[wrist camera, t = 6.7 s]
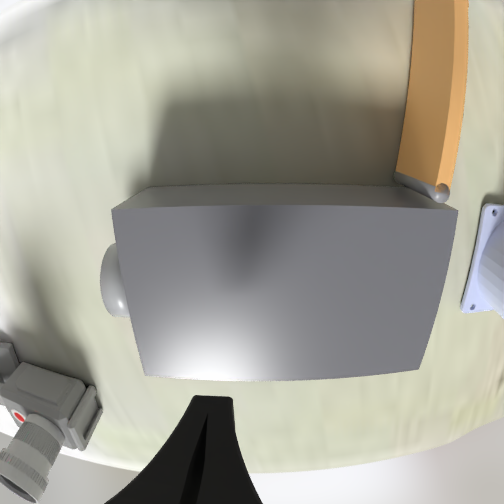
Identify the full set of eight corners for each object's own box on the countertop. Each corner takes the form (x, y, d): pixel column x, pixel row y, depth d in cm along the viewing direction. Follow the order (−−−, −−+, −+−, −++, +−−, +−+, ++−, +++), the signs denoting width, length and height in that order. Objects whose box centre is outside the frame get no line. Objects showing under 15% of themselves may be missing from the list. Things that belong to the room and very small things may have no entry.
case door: (414, 187, 17) (456, 207, 12) (392, 181, 17) (431, 201, 12) (434, 8, 12) (476, -13, 8) (413, -1, 12) (451, -26, 8)
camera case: (412, 188, 17) (458, 210, 12) (391, 321, 20) (418, 369, 16) (122, 188, 17) (80, 211, 13) (143, 323, 21) (118, 372, 16)
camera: (69, 525, 15) (-50, 456, 15) (109, 427, 26) (-1, 387, 26) (23, 477, 11) (-95, 394, 11) (89, 363, 22) (-27, 324, 22)
